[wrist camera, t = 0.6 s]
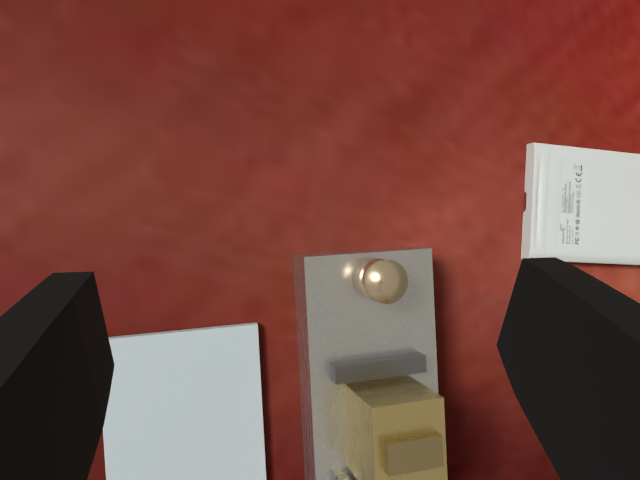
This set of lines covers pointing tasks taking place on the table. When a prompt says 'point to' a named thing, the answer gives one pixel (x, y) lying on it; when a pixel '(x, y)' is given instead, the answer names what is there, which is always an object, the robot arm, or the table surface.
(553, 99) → the table surface
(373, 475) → the wooden block with pad
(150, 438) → the mat
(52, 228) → the table surface
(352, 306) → the grey piece
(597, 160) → the external hard drive
